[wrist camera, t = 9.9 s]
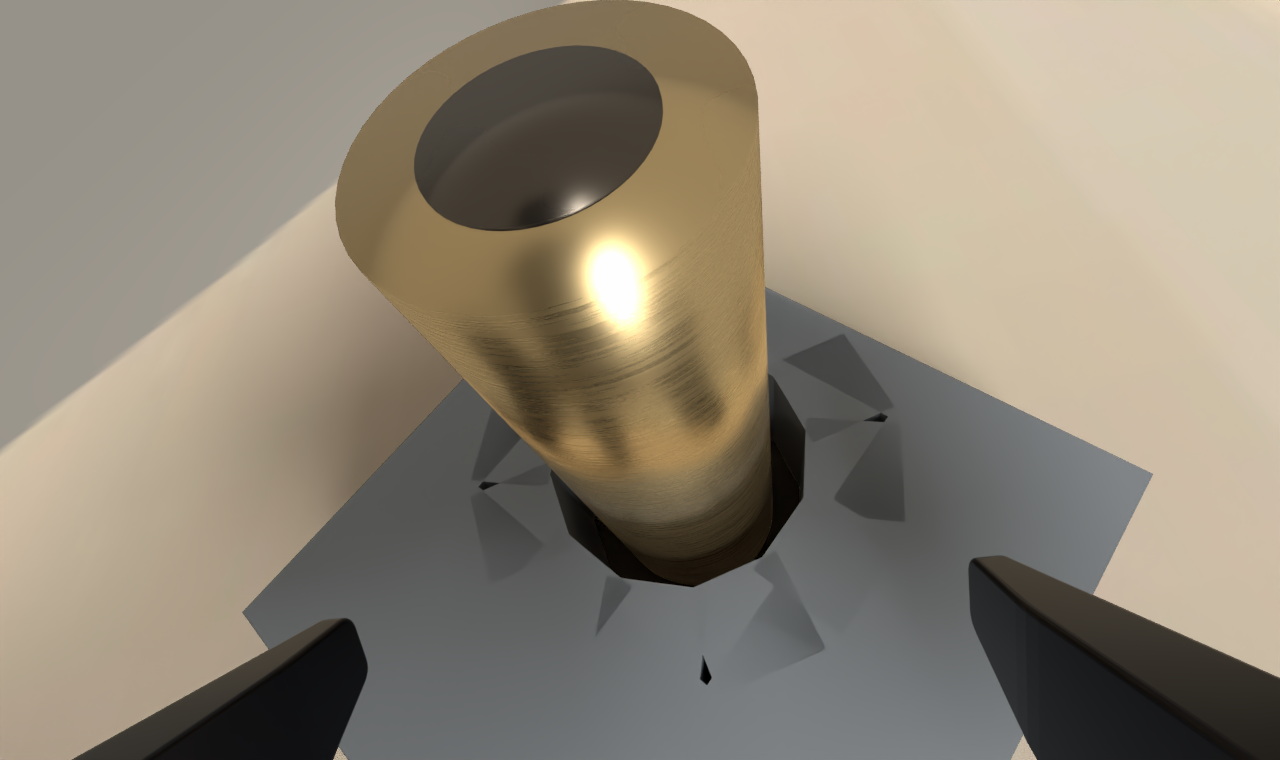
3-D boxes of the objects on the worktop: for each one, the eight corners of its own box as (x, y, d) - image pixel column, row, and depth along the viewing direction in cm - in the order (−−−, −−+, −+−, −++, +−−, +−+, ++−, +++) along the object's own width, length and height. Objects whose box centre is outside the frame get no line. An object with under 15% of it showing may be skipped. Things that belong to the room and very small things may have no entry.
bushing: (803, 487, 17) (850, 47, 6) (712, 620, 16) (540, 401, 4) (680, 409, 19) (531, -32, 8) (590, 522, 18) (256, 198, 6)
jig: (1067, 527, 15) (1153, 474, 12) (750, 1123, 11) (738, 1303, 8) (643, 296, 21) (617, 216, 18) (347, 631, 17) (242, 612, 14)
